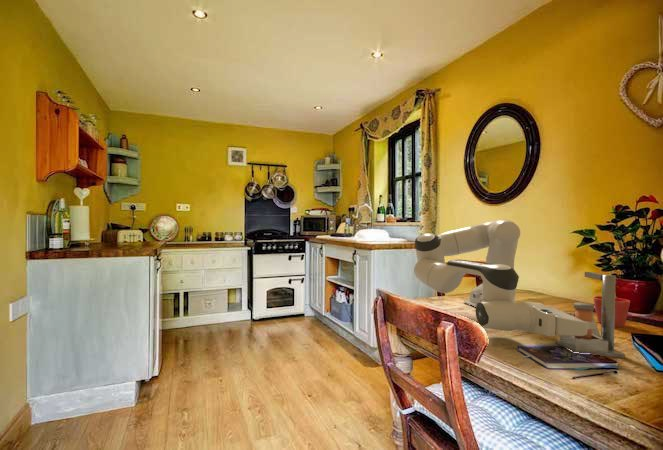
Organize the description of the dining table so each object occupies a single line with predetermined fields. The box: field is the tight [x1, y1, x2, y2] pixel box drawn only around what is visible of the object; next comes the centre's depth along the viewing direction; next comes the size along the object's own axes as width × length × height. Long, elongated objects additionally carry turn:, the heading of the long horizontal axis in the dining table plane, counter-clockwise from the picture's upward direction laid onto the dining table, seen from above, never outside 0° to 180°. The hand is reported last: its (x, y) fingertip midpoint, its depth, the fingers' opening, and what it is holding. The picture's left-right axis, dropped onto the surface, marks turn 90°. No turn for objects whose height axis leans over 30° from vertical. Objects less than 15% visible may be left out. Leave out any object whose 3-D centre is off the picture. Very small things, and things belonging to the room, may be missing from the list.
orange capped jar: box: [573, 301, 595, 339], centre depth 100 cm, size 5×5×12 cm
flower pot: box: [593, 295, 631, 328], centre depth 129 cm, size 11×11×10 cm
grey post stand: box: [555, 271, 626, 359], centre depth 102 cm, size 13×15×22 cm
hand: (585, 320), depth 100 cm, fingers open, 8 cm apart
